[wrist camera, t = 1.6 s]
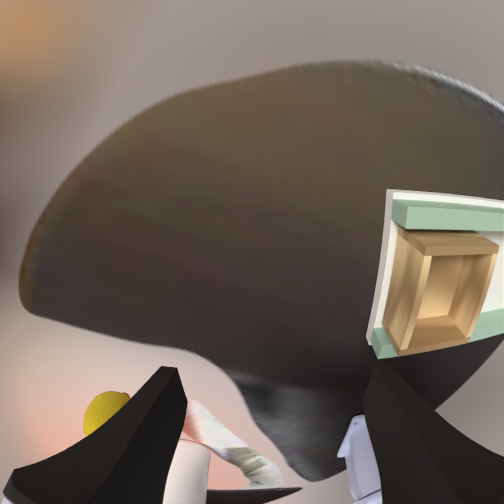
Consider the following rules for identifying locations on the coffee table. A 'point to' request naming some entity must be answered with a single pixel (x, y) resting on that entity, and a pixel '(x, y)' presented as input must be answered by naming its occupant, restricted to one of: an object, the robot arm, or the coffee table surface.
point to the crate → (437, 288)
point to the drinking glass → (188, 474)
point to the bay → (449, 218)
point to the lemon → (103, 409)
